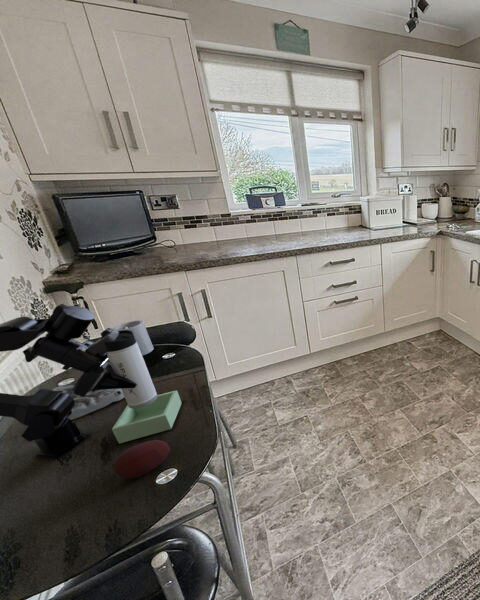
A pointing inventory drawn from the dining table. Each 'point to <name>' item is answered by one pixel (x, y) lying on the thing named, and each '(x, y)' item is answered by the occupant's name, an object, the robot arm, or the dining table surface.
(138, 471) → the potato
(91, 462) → the dining table surface
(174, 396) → the holder
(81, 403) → the wall plaque
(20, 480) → the dining table surface
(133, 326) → the cup
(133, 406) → the travel mug
